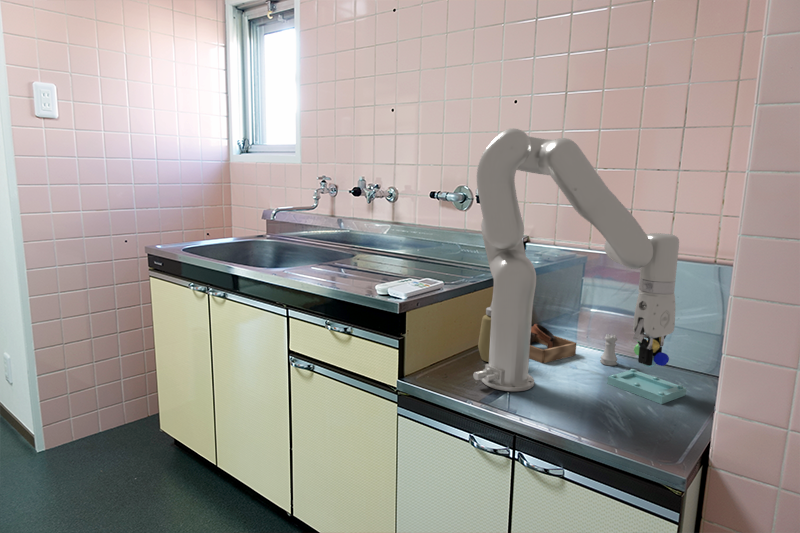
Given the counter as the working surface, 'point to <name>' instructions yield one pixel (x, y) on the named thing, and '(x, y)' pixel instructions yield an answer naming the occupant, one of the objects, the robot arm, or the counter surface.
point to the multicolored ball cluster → (658, 358)
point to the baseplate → (647, 386)
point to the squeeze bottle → (485, 335)
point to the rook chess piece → (609, 351)
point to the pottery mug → (542, 335)
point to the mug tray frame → (552, 350)
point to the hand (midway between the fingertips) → (649, 362)
